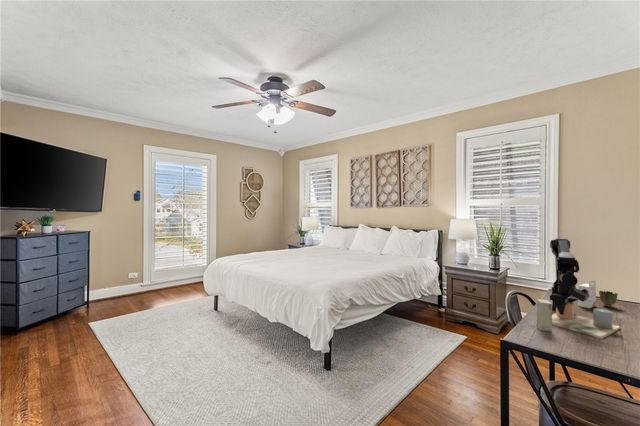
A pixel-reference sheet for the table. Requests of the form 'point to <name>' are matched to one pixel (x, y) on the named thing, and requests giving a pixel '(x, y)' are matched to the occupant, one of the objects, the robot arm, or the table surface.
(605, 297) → the cup
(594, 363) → the table surface
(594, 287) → the ink cartridge box
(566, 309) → the peach domed cylinder
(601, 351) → the table surface
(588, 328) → the birch board
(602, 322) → the grey rounded piece
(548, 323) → the skincare box
